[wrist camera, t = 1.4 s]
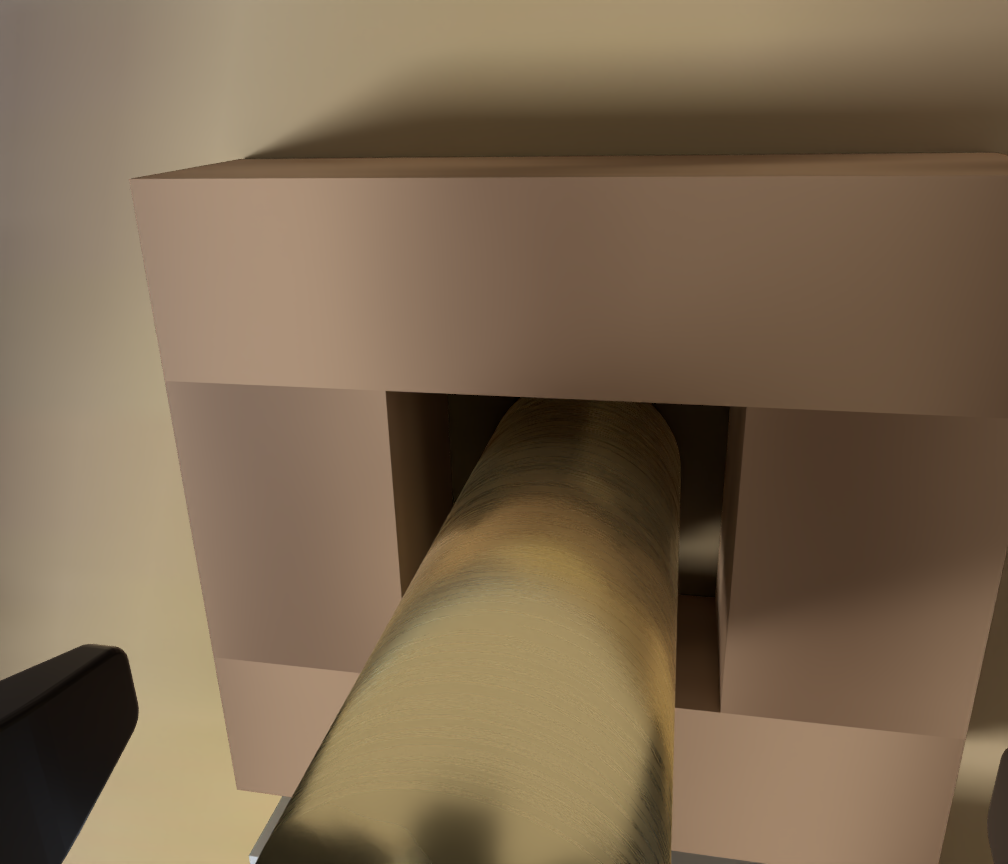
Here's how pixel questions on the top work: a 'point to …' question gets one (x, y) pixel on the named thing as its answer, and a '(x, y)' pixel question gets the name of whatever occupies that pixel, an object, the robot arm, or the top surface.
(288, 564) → the mount
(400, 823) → the pin
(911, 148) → the top surface
